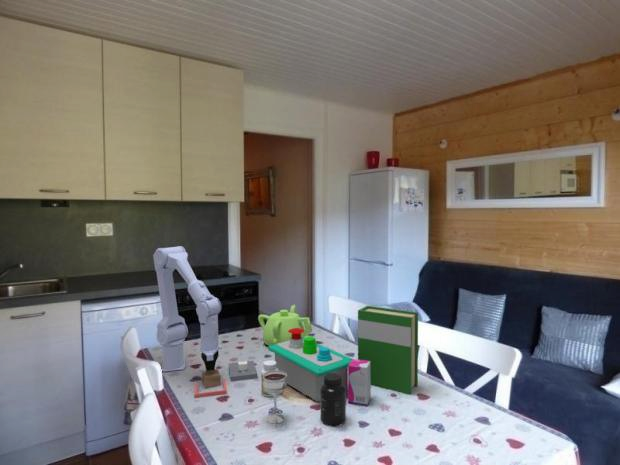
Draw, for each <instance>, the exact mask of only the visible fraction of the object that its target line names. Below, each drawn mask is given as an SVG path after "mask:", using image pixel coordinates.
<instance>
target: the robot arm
mask: <svg viewBox="0 0 620 465" xmlns="http://www.w3.org/2000/svg"><path fill="white" fill-rule="evenodd" d="M188 256H189V254H188V252H186V248H185V247H184V246H181V245H177V246H171V247H158V248H157V249H156V250H155V252H154V253H153V255H152V257H153V264H154V270H155V272H156V279H157V285H158V291H159V298H160V299H159V300H160V307H161V314H162V318H161V319H160V321H159V322H158V323H157V325H156V328H157V331H156V340H157V342H158V343H159V345H160V346H162V347H161V348H162V364H161V368H162V371H163V372H164V373H165V372H172V371H181V370H185V367H186V358H185V357H184V356H185V355H184V342H185V341H186V338H187V337H188V334H189V330H188V326H187V324H186V321H185V318H184V317H183V316H181V315H179V311H178V303H177V302H178V301H177V297H176V296H177V295H176V290H175V282H174V276H173V273H174V271H175V270H176V271H177V272H178V273H179V275H180V276H181V277H182V278H183V280H184V282H186V284H187V285H188V286H187V292H188V294H189V295H190V297H191V298H192V300H193V302H194V304H195V305H196V308H195V311H196V315H197V316H198V321H199V322H198V323H200V349H199V350H200V352H201V354H200V356H201V359H202V361H203V363H204V368H205V371H209V370H215V369H216V362H217V360H218V359H219V354H220V353H219V350H222V349H223V345H222V344H219V314H220V312H221V311H222V303H221V301H220V299H219V298H217V297H215V296H214V295H213V294H211V293H210V291H209V289H208V287H207V286H206V284H205V283H204V282H203V281H202V280H199V279H197V277H196V275H195V273H194V271H193V269H192V266H191V265H190V263H189V261H188V258H189V257H188ZM163 372H162V373H163Z"/></svg>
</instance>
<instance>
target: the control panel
mask: <svg viewBox="0 0 620 465" xmlns="http://www.w3.org/2000/svg"><path fill="white" fill-rule="evenodd" d="M304 331H305V329H304V330H303V329H300V328H293V329H290V330H288V332H289V333H292V337H291V338H290V341H286V342H282V343H278V344H274V345H270V346H268V347H267V348H268V351H270V352H272V353H274V361H275V362H276V368H277V369H278V370H279V371H283V372H285V373H286V374H287V377H286V379H287V385H288V386H291V387H292V388H293V389H295V390H297V391H298V392H300V393H301V392H302V394H303V395H305V396H306V395H307V396H306V397H308V396H309V397H311V398H312V400H313V399H314V400H315V401H314V400H313V401H314V402H320V390H321V387H322V386H323V385H324V376H325V375H326V374H329V373H337V374H339V375H341V376H342V385H343V386H344V387H345V390H346V400H347V399H348V365H349V364H350V362H351V361H352V359H353V358H351V357H350V356H347V355H345V354H342V353H340V352H338V351H336V350H333V349H330V348H329V347H326V346H324V345H321V344H319V343H317V342H316V338H315V336H305V337H304V338H302V337H301V333H303V332H304ZM309 397H308V398H309ZM311 398H310V399H311ZM320 403H321V402H320Z"/></svg>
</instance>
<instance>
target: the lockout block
mask: <svg viewBox="0 0 620 465" xmlns="http://www.w3.org/2000/svg"><path fill="white" fill-rule="evenodd" d="M201 382H202V385H203V387H204V389H207V388H212V387H217V386H221V382H222V381H221V373H220V371H219V370H218V369H217V368H215V370H209V371H206V370H205V371H201Z"/></svg>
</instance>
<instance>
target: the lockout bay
mask: <svg viewBox="0 0 620 465" xmlns="http://www.w3.org/2000/svg"><path fill="white" fill-rule="evenodd" d="M194 384H195V385H194V399H197V398H198V399H199V398H205V397H211V396H220V395H227V394H228V392H227V383H226V378H222V384H223V385H222V386H223V389H222V390H221V389H220V390H219V389H218V390H212V391H204V392H198V390H199V382H198V381H195V383H194Z"/></svg>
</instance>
